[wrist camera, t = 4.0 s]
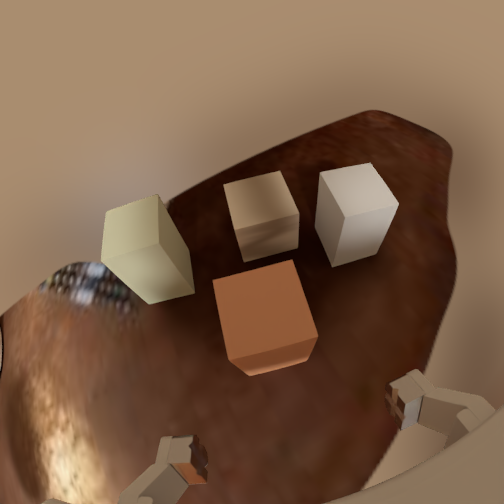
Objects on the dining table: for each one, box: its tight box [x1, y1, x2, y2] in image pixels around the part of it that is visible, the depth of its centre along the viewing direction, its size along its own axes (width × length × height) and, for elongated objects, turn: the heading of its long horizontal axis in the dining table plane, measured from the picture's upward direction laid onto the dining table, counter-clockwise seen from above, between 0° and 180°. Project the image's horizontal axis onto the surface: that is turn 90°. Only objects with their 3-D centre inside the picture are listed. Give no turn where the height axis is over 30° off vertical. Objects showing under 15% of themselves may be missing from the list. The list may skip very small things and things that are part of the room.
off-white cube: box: [224, 171, 299, 262], centre depth 24 cm, size 5×5×5 cm
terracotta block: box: [213, 260, 318, 376], centre depth 17 cm, size 4×4×8 cm
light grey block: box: [315, 163, 399, 267], centre depth 22 cm, size 4×4×7 cm
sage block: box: [101, 194, 195, 304], centre depth 21 cm, size 4×4×8 cm
